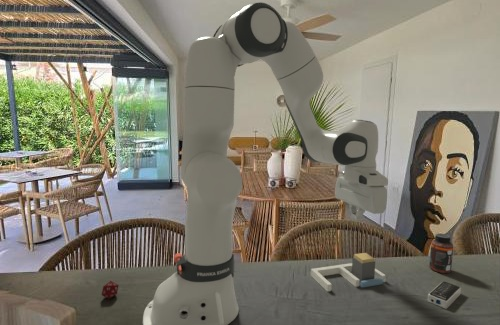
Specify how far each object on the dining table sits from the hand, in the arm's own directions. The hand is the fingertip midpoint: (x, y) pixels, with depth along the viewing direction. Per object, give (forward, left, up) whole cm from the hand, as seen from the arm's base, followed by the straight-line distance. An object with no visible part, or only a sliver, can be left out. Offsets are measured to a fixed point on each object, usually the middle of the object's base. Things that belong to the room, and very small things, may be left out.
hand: (356, 219), depth 91 cm
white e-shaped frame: (-4, -3, -17) cm, 18 cm away
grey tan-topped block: (0, -4, -17) cm, 17 cm away
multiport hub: (+15, -19, -17) cm, 30 cm away
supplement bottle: (+28, -6, -17) cm, 33 cm away
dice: (-70, +6, -17) cm, 72 cm away
